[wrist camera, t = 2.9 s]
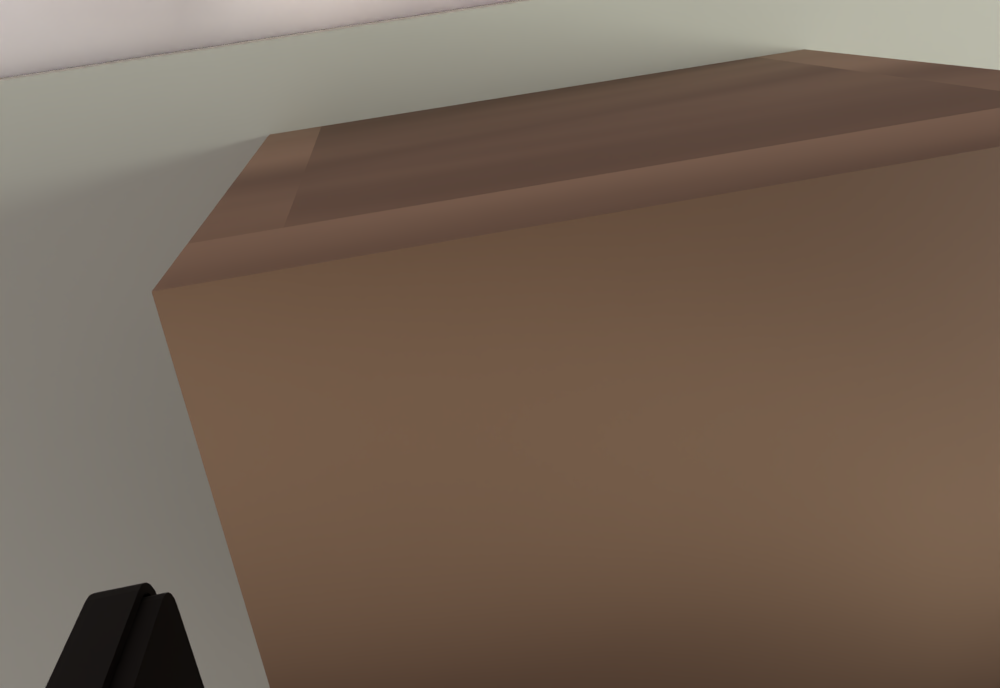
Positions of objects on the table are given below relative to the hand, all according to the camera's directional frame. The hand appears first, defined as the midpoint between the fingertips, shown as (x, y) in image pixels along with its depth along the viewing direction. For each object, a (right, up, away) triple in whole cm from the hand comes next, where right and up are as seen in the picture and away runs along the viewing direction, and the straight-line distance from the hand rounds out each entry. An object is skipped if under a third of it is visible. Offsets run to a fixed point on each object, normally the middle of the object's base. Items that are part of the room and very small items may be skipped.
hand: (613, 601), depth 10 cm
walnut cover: (0, +1, +2) cm, 3 cm away
